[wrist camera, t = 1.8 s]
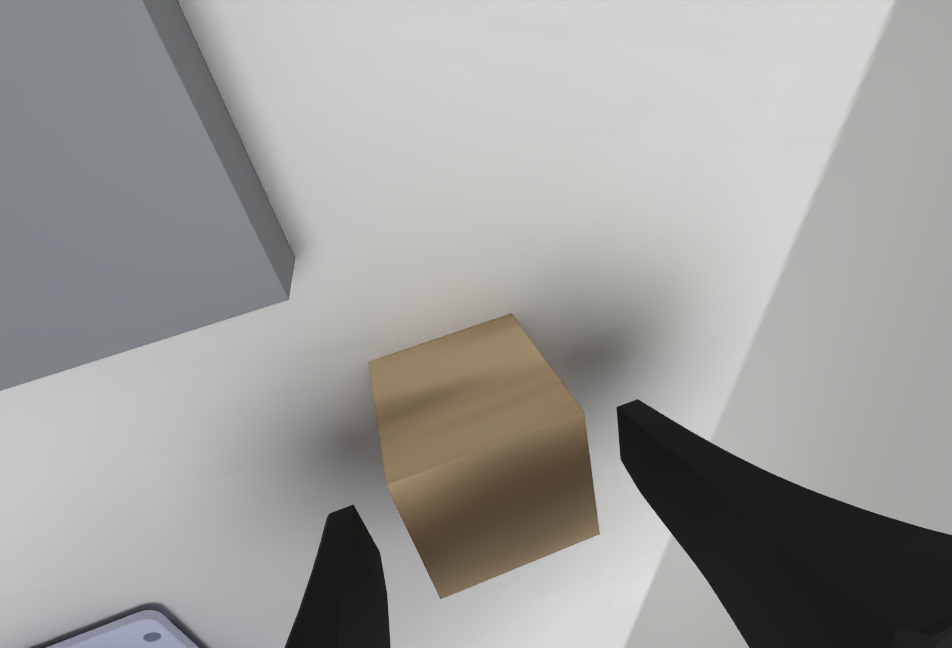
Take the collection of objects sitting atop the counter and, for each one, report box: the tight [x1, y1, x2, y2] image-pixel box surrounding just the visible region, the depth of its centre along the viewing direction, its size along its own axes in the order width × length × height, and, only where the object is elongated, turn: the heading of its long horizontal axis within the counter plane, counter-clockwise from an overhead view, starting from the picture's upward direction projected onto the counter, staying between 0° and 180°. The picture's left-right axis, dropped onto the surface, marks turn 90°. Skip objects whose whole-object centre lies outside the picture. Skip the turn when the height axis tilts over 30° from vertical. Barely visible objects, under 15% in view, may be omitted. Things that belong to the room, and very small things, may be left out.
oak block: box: [369, 314, 600, 599], centre depth 14 cm, size 5×5×5 cm
